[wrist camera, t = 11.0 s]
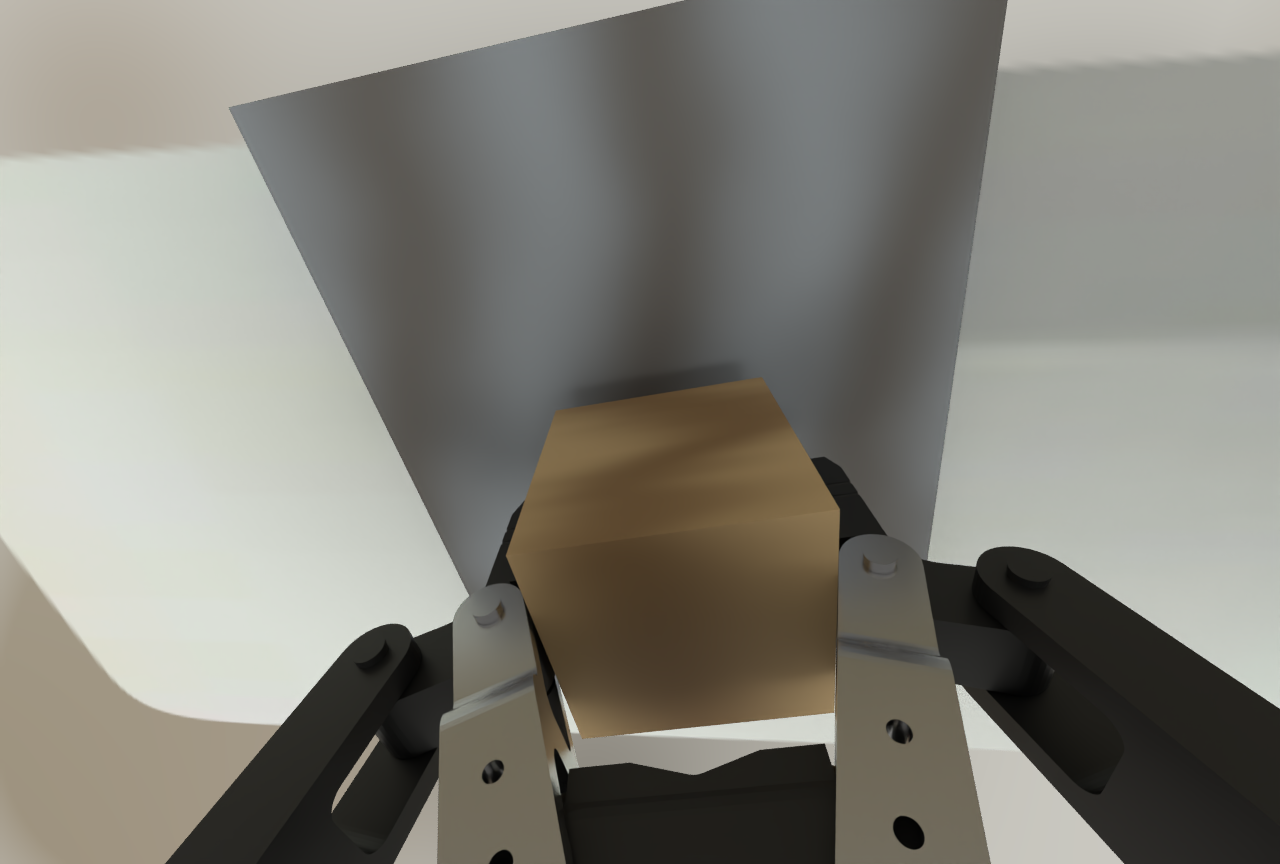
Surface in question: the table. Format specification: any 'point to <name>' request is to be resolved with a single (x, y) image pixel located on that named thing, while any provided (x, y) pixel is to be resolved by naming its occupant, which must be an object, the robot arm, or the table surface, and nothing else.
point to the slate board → (651, 234)
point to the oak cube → (681, 562)
